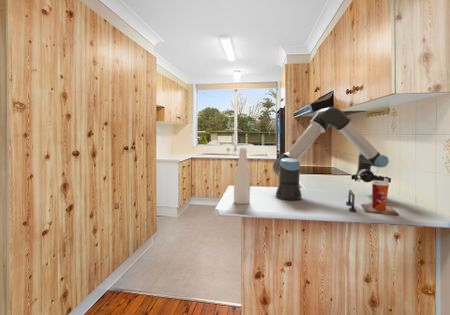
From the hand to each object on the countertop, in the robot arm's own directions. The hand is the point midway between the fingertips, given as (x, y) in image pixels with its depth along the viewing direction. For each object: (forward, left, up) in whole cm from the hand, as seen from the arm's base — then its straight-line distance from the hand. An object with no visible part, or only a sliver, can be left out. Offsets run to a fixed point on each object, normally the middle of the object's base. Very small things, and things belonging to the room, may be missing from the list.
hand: (373, 180), depth 139 cm
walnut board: (+1, -12, -13) cm, 18 cm away
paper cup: (+1, -12, -13) cm, 18 cm away
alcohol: (-68, -26, -14) cm, 74 cm away
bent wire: (-12, -12, -13) cm, 22 cm away
